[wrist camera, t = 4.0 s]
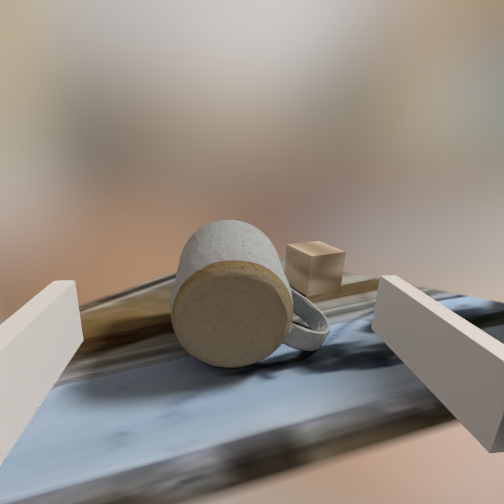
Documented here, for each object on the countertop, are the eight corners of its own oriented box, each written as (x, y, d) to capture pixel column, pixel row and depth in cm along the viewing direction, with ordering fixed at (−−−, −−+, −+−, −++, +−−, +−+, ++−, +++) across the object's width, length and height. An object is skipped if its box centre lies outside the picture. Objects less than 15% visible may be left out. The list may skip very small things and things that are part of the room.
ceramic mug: (166, 381, 17) (163, 249, 15) (180, 310, 25) (180, 216, 23) (347, 375, 19) (369, 254, 16) (307, 309, 26) (318, 221, 24)
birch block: (314, 276, 34) (318, 241, 32) (340, 290, 30) (345, 251, 29) (283, 281, 32) (286, 244, 31) (307, 297, 29) (311, 256, 27)
